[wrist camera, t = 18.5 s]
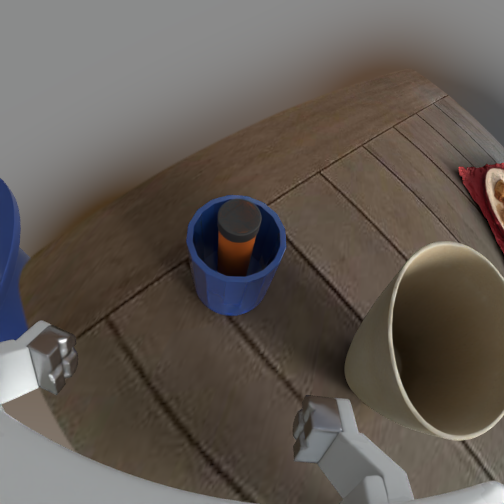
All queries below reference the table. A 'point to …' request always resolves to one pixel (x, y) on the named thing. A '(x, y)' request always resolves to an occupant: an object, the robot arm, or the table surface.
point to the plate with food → (488, 194)
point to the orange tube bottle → (236, 236)
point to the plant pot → (435, 345)
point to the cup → (206, 259)
